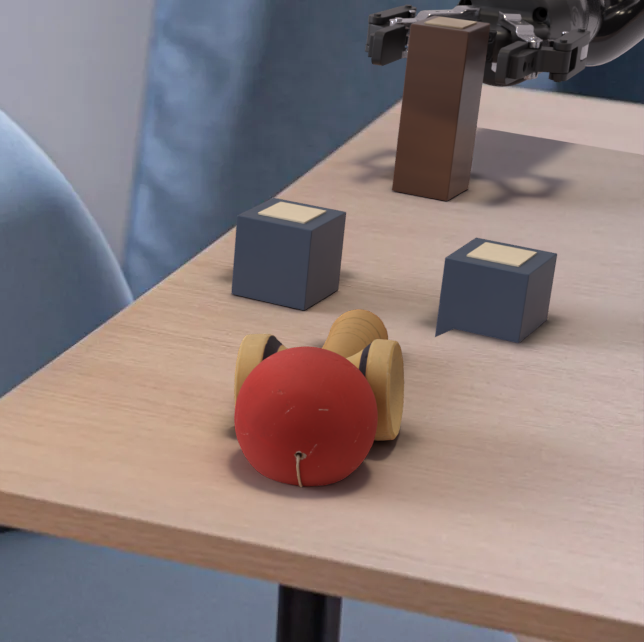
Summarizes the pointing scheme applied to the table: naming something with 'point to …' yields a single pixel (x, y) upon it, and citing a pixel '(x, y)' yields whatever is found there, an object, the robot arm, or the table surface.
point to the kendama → (318, 400)
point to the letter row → (325, 263)
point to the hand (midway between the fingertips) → (437, 58)
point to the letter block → (440, 107)
